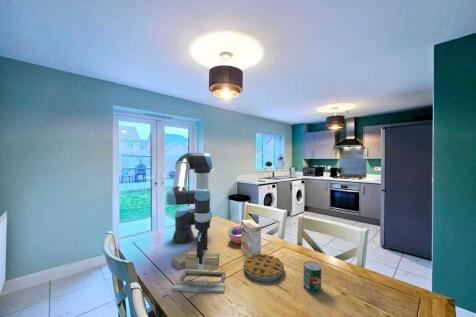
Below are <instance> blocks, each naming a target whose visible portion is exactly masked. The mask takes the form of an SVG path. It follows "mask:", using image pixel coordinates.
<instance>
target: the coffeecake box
mask: <svg viewBox="0 0 476 317" xmlns="http://www.w3.org/2000/svg"><path fill="white" fill-rule="evenodd" d="M240 223H241V224H240V225H241V243H240V246H241V247H240V250H241V251H242V252H243V253H244V254H245V255H246V256H247V258H249V257H251V256H252V255H257V254H260V255H262V226H261V225H260V224H258V223H256V222H255V221H254V220H253V219H242V220H241V222H240Z"/></svg>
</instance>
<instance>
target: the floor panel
mask: <svg viewBox="0 0 476 317" xmlns="http://www.w3.org/2000/svg"><path fill="white" fill-rule="evenodd" d="M187 275H189V276H208V277H221V278H220V282H204V281H203V282H202V281H200V282H199V281H184V280H185V278H186V276H187ZM225 280H226V272H223V271H204V270H183V272H182V274H181V276H180V278H179V280H178V281H177V280H176V281H175V283H174V284H173V286H172V287H171V291H173V292H174V291H175V292H178V291H179V292H197V293H214V294H215V293H217V294H219V293H220V294H224V293H225V289H226V283H225Z"/></svg>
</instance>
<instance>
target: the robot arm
mask: <svg viewBox="0 0 476 317" xmlns="http://www.w3.org/2000/svg"><path fill="white" fill-rule="evenodd" d="M174 168H175V174H174V179H173V185H172V190H168V191H167V193H166V204H167V205H168V206H181V205H183V206H182V207H179V208H177V209H176V210H175V213H174V214H175V215H174V218H175V222H174V224H175V227H174V229H175V230H174V233H173V236H172V242H173V243H175V244H189V243H190V242H193V241H194V240H195V239H196V249H197V256H196V257H197V258H198V269H197V271H205V270H204V256H203V253H208V252H207V251H209V247H208V243H209V242H208V241H209V239H208V231H209V229H210V228H211V220H212V217H213V208H212V207H211V190H210V189H209V174H210V173H211V170H213V161H212V156H211V153H208V152H207V153H206V152H188V153H185V154H183V155H181V156H180V157H178V159H177V161H176V162H175V166H174ZM190 170H194V171H193V173H194V174H196V175H195V176H196V178H195V180H196V182H195V183H196V185H195V186H196V189H190V190H187V188H188V178H189V177H188V175H189V171H190ZM184 205H194V208H192V207H191V206H184ZM192 226H194V229H195V230H197V231H198V232H197V236H196V238H195V235H194V231H193V229H192V228H193V227H192Z"/></svg>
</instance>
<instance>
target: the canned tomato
mask: <svg viewBox="0 0 476 317" xmlns="http://www.w3.org/2000/svg"><path fill="white" fill-rule="evenodd" d="M303 289H304V291H305V292H307V293H308V294H312V295H318V294H319V295H320V293H321V292H322V266H321V264H320V263H319V262H316V261H313V260H308V261H307V260H306V261H304V262H303Z"/></svg>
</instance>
